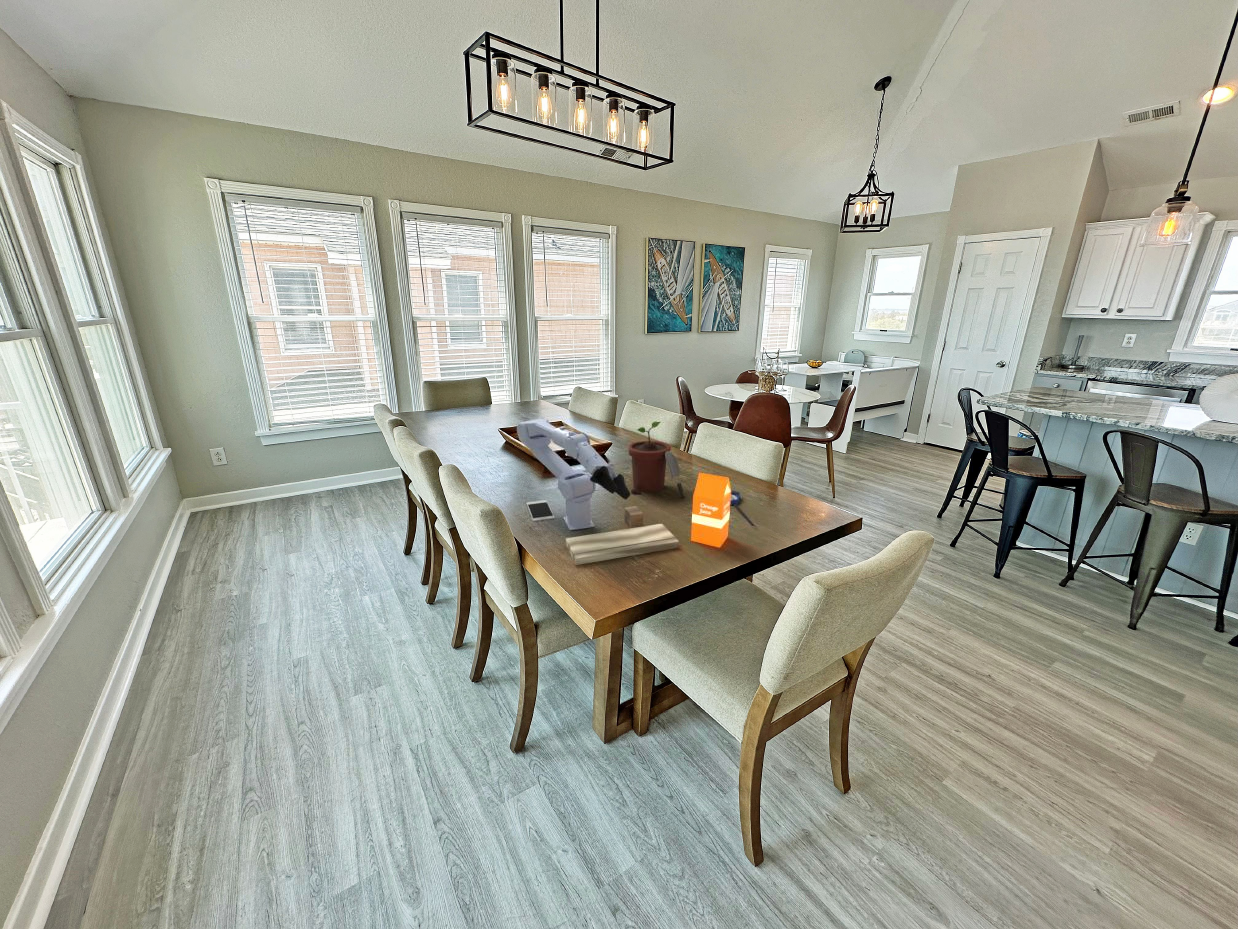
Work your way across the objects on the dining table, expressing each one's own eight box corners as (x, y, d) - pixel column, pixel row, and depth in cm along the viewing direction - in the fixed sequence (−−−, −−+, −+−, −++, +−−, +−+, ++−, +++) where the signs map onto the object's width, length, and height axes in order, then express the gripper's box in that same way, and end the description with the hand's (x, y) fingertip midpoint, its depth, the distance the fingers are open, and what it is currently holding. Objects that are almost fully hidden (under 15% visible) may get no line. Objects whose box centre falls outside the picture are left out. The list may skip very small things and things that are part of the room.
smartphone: (546, 502, 168) (546, 499, 168) (555, 519, 155) (555, 517, 154) (526, 504, 166) (526, 502, 166) (533, 523, 152) (532, 520, 152)
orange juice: (719, 547, 136) (724, 482, 130) (690, 540, 140) (693, 476, 134) (728, 536, 142) (733, 473, 136) (699, 530, 147) (703, 468, 140)
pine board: (565, 544, 138) (565, 538, 137) (661, 529, 147) (661, 523, 146) (575, 565, 127) (575, 558, 126) (678, 547, 136) (678, 541, 135)
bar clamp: (709, 490, 172) (735, 488, 173) (708, 496, 173) (734, 494, 174) (743, 533, 142) (775, 531, 144) (743, 540, 143) (774, 538, 144)
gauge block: (624, 522, 152) (624, 507, 151) (636, 520, 154) (636, 505, 152) (632, 532, 145) (632, 517, 144) (645, 530, 147) (645, 515, 145)
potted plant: (666, 477, 190) (668, 416, 182) (685, 498, 170) (688, 430, 162) (622, 481, 187) (622, 418, 179) (636, 502, 167) (637, 433, 159)
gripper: (589, 445, 131) (618, 476, 124) (614, 459, 143) (642, 489, 136) (572, 464, 132) (600, 496, 125) (599, 477, 144) (626, 507, 137)
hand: (621, 494), depth 130 cm, fingers open, 7 cm apart
